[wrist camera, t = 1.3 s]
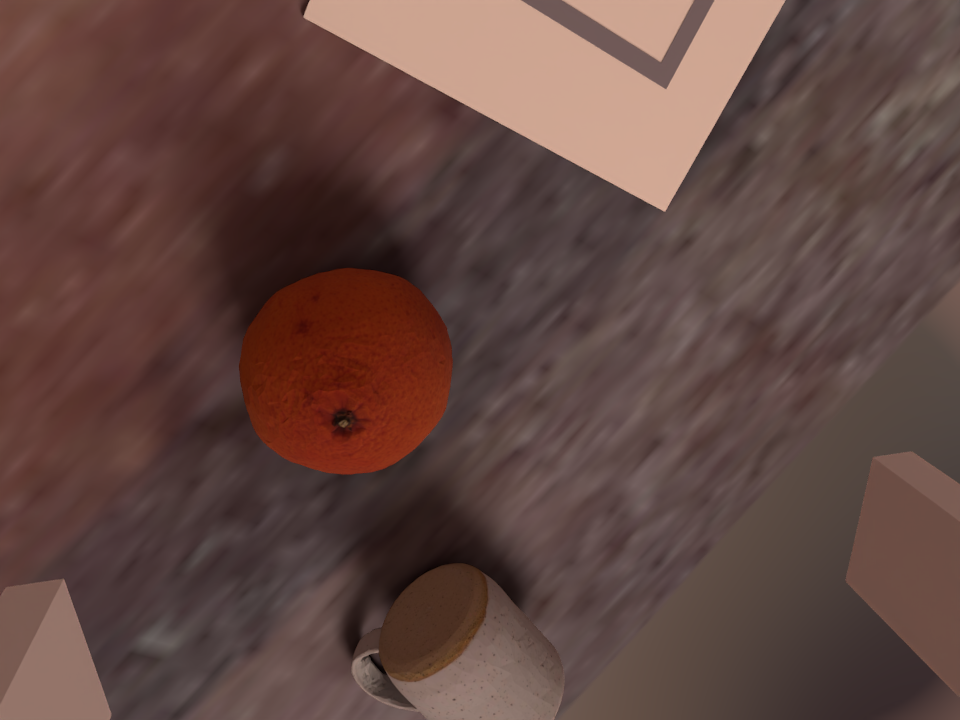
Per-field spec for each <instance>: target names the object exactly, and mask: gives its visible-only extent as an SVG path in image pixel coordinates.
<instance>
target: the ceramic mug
mask: <svg viewBox="0 0 960 720" xmlns="http://www.w3.org/2000/svg"><path fill="white" fill-rule="evenodd" d="M378 652H379V656H380V659H381V662H382V665H383V667H384V669H385V671H386V673H387V675H388V676H389V677H388V676H386V675H384V674H383V673H382V672H381V671H380V670H379V669H378V668H377V667H376V666H375V664H374V663H373V662H372V661H371V658H370V657H369V656H368V655H370V654H372V653H378ZM351 672H352V675H353V677H354V679H355V680H356V682H357V683H358V685H359V686H360V687H361V688H362V689H363V690H364V691H365V692H366V693H367V694H369V695H370V696H372V697H373V698H375V699H376V700H378V701H381V702H383V703H385V704H387V705H390V706H392V707H396V708H400V709H404V710H412V711H418V712H421V713H422V715H423V716H424V717H425V718H426V719H427V720H554V718H555V716H556V713H557V711H558V709H559V706H560V703H561V699H562V695H563V690H564V671H563V666H562V663H561V660H560V657H559V654H558V652H557V651H556V649H555V647H554V646H553V645H552V644H551V643H550V642H549V641H548V640H547V638H546V637H545V636H544V635H543V634H542V633H541V632H540V631H539V630H538V629H537V627H536V626H535V625H534V624H533V623H532V622H531V621H530V620H529V618H528V617H527V616H526V615H525V614H524V613H523V612H522V611H521V610H520V609H519V608H518V607H517V606H516V605H515V604H514V603H513V601H512V600H511V599H510V598H509V597H508V596H507V594H506V593H505V592H504V591H503V589H502V588H501V587H500V586H499V585H498V584H497V583H496V582H495V581H494V580H493V579H491V578H490V577H489V576H487V575H486V574H484V573H483V572H482V571H480V570H479V569H477V568H475V567H474V566H471V565H468V564H464V563H452V564H446V565H442V566H439V567H437V568H435V569H432V570H430V571H428V572H426V573H424V574H423V575H421V576H420V577H418V578H417V579H416V580H415V581H414V582H412V583H411V584H410V585H409V586H408V587H407V588H406V589H405V590H404V591H403V592H402V593H401V594H400V595H399V597H398V598H397V599H396V601H395V602H394V603H393V605H392V607H391V608H390V610H389V612H388V614H387V616H386V618H385V621H384V623H383V626H382V627H381V628H377V629H374V630H372V631H371V632H370V633H367V634H366V635H364V636H363V637H362V638H361V639H360V641H359V643H358V645H357V647H356V650H355V652H354V655H353V659H352V663H351Z"/></svg>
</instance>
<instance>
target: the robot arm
mask: <svg viewBox="0 0 960 720" xmlns="http://www.w3.org/2000/svg"><path fill="white" fill-rule="evenodd" d="M846 582H847V583H848V584H849V585H850V586H851V587H852V588H853V589H854V590H855V592H857V594H858V595H860V597H861V598H862V599H863V600H864V601H865V602H866V603H867V604H868V605H869V606H870V607H871V608H872V609H873V610H874V611H875V612H876V613H877V614H878V615H879V616H880V617H881V618H882V619H883V620H884V621H885V622H886V623H887V624H888V625H889V626H890V627H891V628H892V629H893V630H894V631H895V632H896V633H897V634H898V635H899V636H900V637H901V638H902V639H903V640H904V641H905V643H906V644H907V645H908V646H909V647H910V648H911V649H912V650H913V651H914V652H915V653H916V654H917V655H918V656H919V657H920V658H921V659H922V660H923V661H924V662H925V663H926V664H927V665H928V666H929V667H930V668H931V669H932V670H933V671H934V672H935V673H936V674H937V675H938V676H939V677H940V678H941V679H942V680H943V681H944V682H945V683H946V684H947V685H948V686H949V687H950V688H951V689H952V690H953V691H954V692H955V693H956V695H958V697H959V698H960V484H958V483H957V482H956V481H954V480H953V479H951V478H950V477H948V476H947V475H945V474H944V473H943V472H941V471H940V470H938V469H937V468H935V467H934V466H932V465H931V464H929V463H928V462H926V461H925V460H923V459H922V458H921V457H919V456H918V455H916V454H915V453H913V452H912V451H911V452H904V453H898V454H892V455H884V456H878V457H873V459H872V464H871V469H870V473H869V478H868V482H867V487H866V491H865V495H864V500H863V505H862V509H861V514H860V518H859V523H858V527H857V532H856V536H855V541H854V545H853V550H852V554H851V559H850V564H849V568H848V572H847V577H846ZM110 717H111V712H110V709H109V706H108V703H107V700H106V698H105V695H104V692H103V689H102V686H101V683H100V680H99V678H98V675H97V672H96V669H95V666H94V663H93V660H92V658H91V655H90V652H89V649H88V646H87V643H86V641H85V638H84V635H83V632H82V629H81V626H80V623H79V621H78V618H77V615H76V612H75V609H74V606H73V604H72V601H71V598H70V595H69V592H68V589H67V586H66V584H65V581H64V579H59V580H52V581H45V582H39V583H32V584H25V585H19V586H12V587H6V588H5V590H4V591H3V593H2V595H1V596H0V720H110Z"/></svg>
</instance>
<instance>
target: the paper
mask: <svg viewBox="0 0 960 720" xmlns="http://www.w3.org/2000/svg"><path fill="white" fill-rule="evenodd" d="M784 2H785V0H310V1H309V3H308V6H307V9H306V11H305V14H304V16H303V18H305V19H307V20H309V21H311V22H312V23H314V24H316V25H318V26H320V27H322V28H324V29H325V30H327V31H329V32H331V33H333V34H335V35H337V36H338V37H340V38H342V39H344V40H346V41H348V42H350V43H352V44H353V45H355V46H357V47H359V48H361V49H363V50H365V51H366V52H368V53H370V54H372V55H374V56H376V57H378V58H379V59H381V60H383V61H385V62H387V63H389V64H391V65H392V66H394V67H396V68H398V69H400V70H402V71H404V72H405V73H407V74H409V75H411V76H413V77H415V78H417V79H419V80H420V81H422V82H424V83H426V84H428V85H430V86H432V87H433V88H435V89H437V90H439V91H441V92H443V93H445V94H446V95H448V96H450V97H452V98H454V99H456V100H458V101H459V102H461V103H463V104H465V105H467V106H469V107H471V108H472V109H474V110H476V111H478V112H480V113H482V114H484V115H485V116H487V117H489V118H491V119H493V120H495V121H497V122H499V123H500V124H502V125H504V126H506V127H508V128H510V129H512V130H513V131H515V132H517V133H519V134H521V135H523V136H525V137H526V138H528V139H530V140H532V141H534V142H536V143H538V144H539V145H541V146H543V147H545V148H547V149H549V150H551V151H552V152H554V153H556V154H558V155H560V156H562V157H564V158H566V159H567V160H569V161H571V162H573V163H575V164H577V165H579V166H580V167H582V168H584V169H586V170H588V171H590V172H592V173H593V174H595V175H597V176H599V177H601V178H603V179H605V180H606V181H608V182H610V183H612V184H614V185H616V186H618V187H619V188H621V189H623V190H625V191H627V192H629V193H631V194H632V195H634V196H636V197H638V198H640V199H642V200H644V201H646V202H647V203H649V204H651V205H653V206H655V207H657V208H659V209H660V210H662V211H664V212H665V211H666V209H667V207H668V205H669V204H670V202H671V200H672V198H673V197H674V195H675V193H676V191H677V190H678V188H679V186H680V184H681V183H682V181H683V179H684V177H685V176H686V174H687V172H688V170H689V169H690V167H691V165H692V163H693V162H694V160H695V158H696V156H697V154H698V153H699V151H700V149H701V147H702V146H703V144H704V142H705V140H706V139H707V137H708V135H709V133H710V132H711V130H712V128H713V126H714V125H715V123H716V121H717V119H718V118H719V116H720V114H721V112H722V111H723V109H724V107H725V105H726V104H727V102H728V100H729V98H730V97H731V95H732V93H733V91H734V90H735V88H736V86H737V84H738V83H739V81H740V79H741V77H742V76H743V74H744V72H745V70H746V68H747V67H748V65H749V63H750V61H751V60H752V58H753V56H754V54H755V53H756V51H757V49H758V47H759V46H760V44H761V42H762V40H763V39H764V37H765V35H766V33H767V32H768V30H769V28H770V26H771V25H772V23H773V21H774V19H775V18H776V16H777V14H778V12H779V11H780V9H781V7H782V5H783V4H784Z"/></svg>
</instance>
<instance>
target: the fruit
mask: <svg viewBox="0 0 960 720" xmlns="http://www.w3.org/2000/svg"><path fill="white" fill-rule="evenodd" d="M452 363H453V359H452V347H451V343H450V339H449V335H448V332H447V327H446V326H445V324H444V322H443V320H442V319H441V317H440V315H439V314H438V312H437V311H436V309H435V308H434V307H433V305H432V304H431V303H430V302H429V300H428V299H427V298H426V297H425V296H424V294H423V293H422V292H421V291H420V290H419V289H418V288H417V287H415V286H414V285H412V284H411V283H410V282H408V281H407V280H405V279H403V278H401V277H399V276H396V275H393V274H388V273H384V272H380V271H375V270H364V269H356V268H342V269H336V270H332V271H328V272H322V273H318V274H315V275H312V276H309V277H306V278H303V279H301V280H299V281H298V282H296V283H293V284H291V285H288V286H286V287H284V288H282V289H281V290H279V291H277V292H276V293H275V294H274V295H273V296H272V297H271V298H270V299H269V300H268V301H267V302H266V303H265V305H264V306H263V307H262V309H261V310H260V312H259V313H258V314H257V316H256V317H255V319H254V320H253V321H252V323H251V324H250V326H249V327H248V330H247V332H246V334H245V336H244V338H243V345H242V351H241V358H240V363H239V371H240V382H241V387H242V391H243V396H244V401H245V404H246V408H247V411H248V413H249V416H250V419H251V423H252V426H253V428H254V430H255V432H256V433H257V435H258V436H259V437H260V438H261V440H262V441H263V442H264V443H265V444H266V445H267V446H268V447H269V448H271V449H272V450H274V451H275V452H276V453H278V454H279V455H280V456H281V457H283V458H285V459H287V460H289V461H291V462H294V463H297V464H300V465H303V466H306V467H308V468H312V469H315V470H319V471H322V472H327V473H336V474H355V473H368V472H374V471H377V470H381V469H384V468H387V467H389V466H391V465H393V464H394V463H396V462H397V461H399V460H400V459H402V458H403V457H405V456H406V455H407V454H409V453H410V452H411V451H413V450H414V449H415V448H416V447H417V446H418V445H419V444H420V443H421V442H422V441H423V440H424V438H425V437H426V436H427V435H428V434H429V433H430V432H431V431H432V430H433V428H434V427H435V426H436V424H437V423H438V422H439V420H440V419H441V417H442V415H443V413H444V411H445V409H446V406H447V400H448V395H449V390H450V383H451V376H452Z"/></svg>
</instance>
